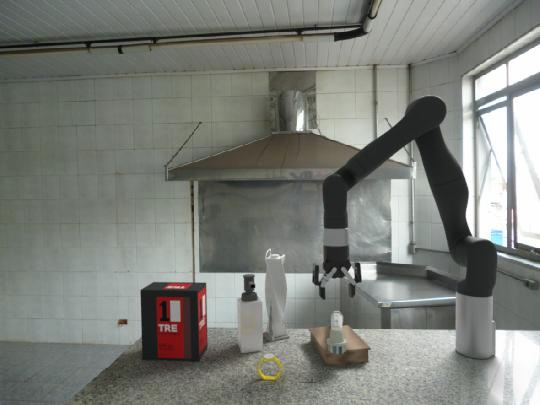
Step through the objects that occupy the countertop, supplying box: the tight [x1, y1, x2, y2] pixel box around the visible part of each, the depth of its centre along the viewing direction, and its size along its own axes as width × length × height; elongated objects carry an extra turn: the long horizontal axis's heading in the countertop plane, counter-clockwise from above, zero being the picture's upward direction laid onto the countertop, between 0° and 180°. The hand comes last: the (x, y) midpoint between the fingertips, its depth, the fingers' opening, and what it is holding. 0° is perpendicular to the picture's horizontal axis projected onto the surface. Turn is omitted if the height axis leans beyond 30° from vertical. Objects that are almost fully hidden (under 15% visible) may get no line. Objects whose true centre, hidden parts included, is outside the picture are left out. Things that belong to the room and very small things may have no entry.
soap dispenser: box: [236, 273, 264, 354], centre depth 109 cm, size 6×9×22 cm
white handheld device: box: [327, 310, 347, 354], centre depth 107 cm, size 5×7×25 cm
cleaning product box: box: [139, 281, 209, 363], centre depth 106 cm, size 16×9×20 cm, turn 84°
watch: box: [257, 353, 283, 381], centre depth 92 cm, size 6×3×6 cm, turn 84°
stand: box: [308, 324, 372, 366], centre depth 107 cm, size 13×17×4 cm
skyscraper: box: [263, 248, 291, 343], centre depth 119 cm, size 8×8×28 cm
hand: (337, 298), depth 106 cm, fingers open, 8 cm apart
